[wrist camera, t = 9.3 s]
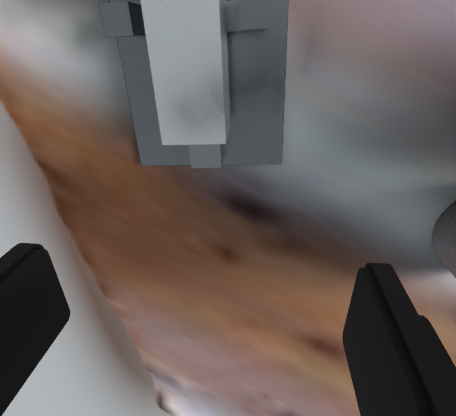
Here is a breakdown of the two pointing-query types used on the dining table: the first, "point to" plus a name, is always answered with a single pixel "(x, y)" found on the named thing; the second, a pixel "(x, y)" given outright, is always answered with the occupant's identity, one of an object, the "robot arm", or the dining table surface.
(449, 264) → the pillar candle
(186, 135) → the white post with dot
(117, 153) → the dining table surface
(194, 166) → the collar rail
